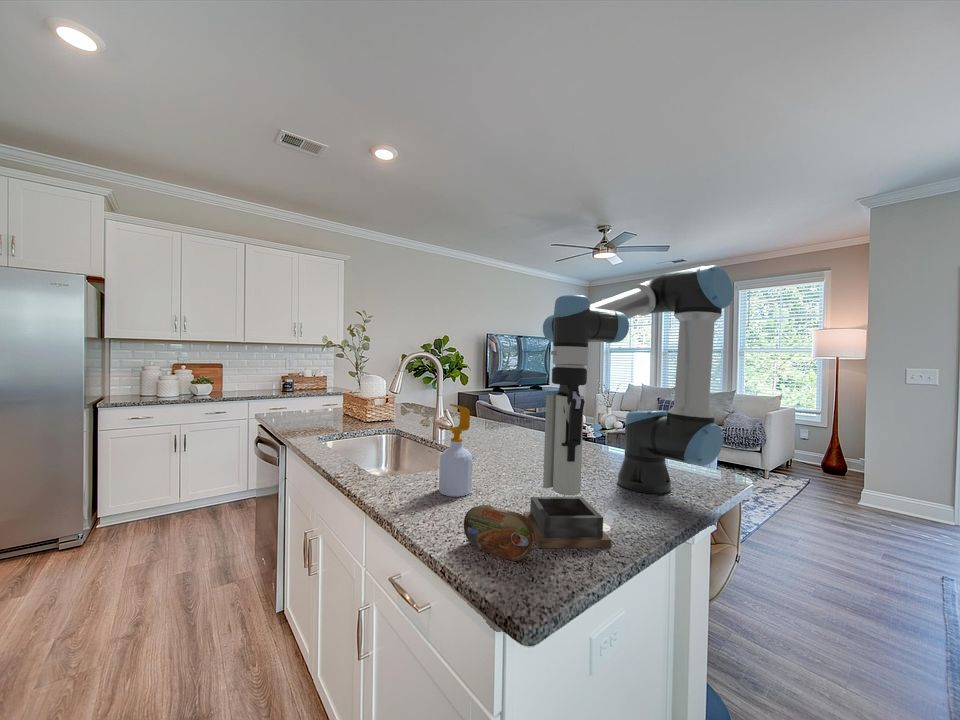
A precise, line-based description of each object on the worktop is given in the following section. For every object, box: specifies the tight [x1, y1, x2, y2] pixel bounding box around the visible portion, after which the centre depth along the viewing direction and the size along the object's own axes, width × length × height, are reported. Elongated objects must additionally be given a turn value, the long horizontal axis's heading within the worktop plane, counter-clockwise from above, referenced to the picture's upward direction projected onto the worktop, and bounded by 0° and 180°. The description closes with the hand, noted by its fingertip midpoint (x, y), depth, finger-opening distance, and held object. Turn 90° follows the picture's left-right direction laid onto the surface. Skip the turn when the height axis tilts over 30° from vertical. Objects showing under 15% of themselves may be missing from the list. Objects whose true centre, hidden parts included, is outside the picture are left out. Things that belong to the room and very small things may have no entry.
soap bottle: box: [438, 403, 473, 498], centre depth 112 cm, size 9×9×25 cm
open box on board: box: [523, 496, 612, 549], centre depth 88 cm, size 15×15×6 cm
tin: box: [463, 504, 536, 562], centre depth 78 cm, size 15×3×8 cm, turn 56°
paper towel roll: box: [542, 393, 585, 496], centre depth 89 cm, size 7×6×21 cm
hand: (565, 472), depth 88 cm, fingers closed on paper towel roll, 3 cm apart
